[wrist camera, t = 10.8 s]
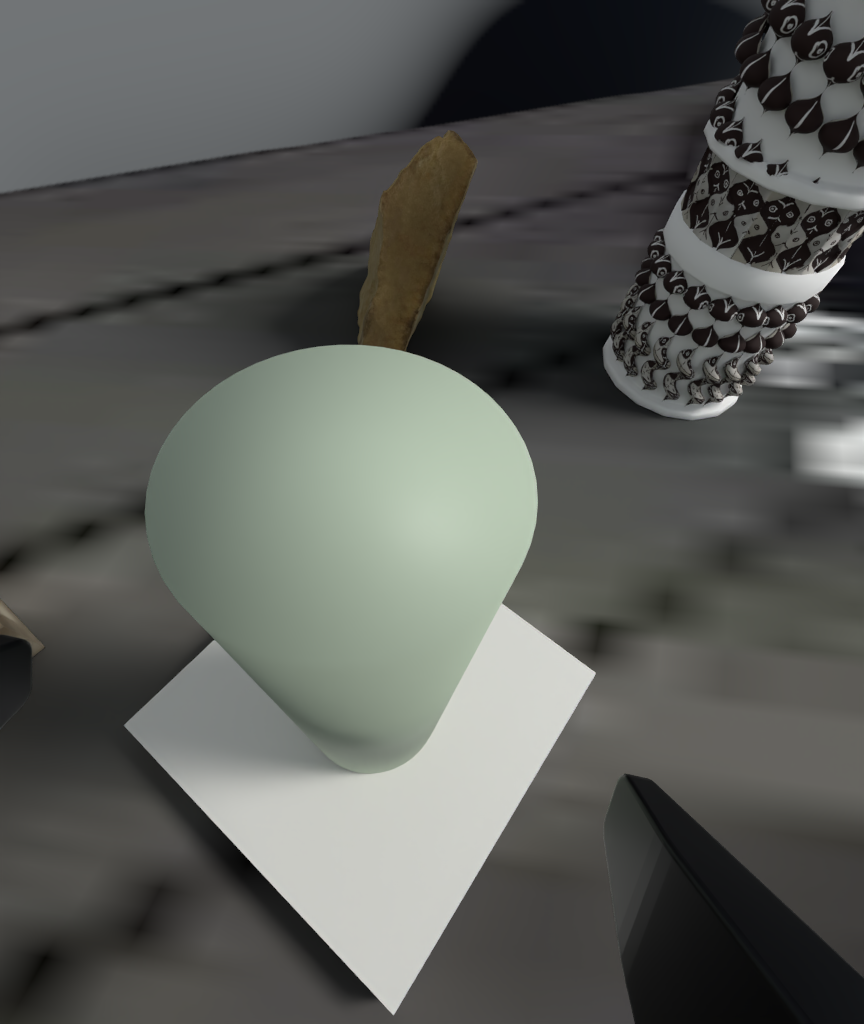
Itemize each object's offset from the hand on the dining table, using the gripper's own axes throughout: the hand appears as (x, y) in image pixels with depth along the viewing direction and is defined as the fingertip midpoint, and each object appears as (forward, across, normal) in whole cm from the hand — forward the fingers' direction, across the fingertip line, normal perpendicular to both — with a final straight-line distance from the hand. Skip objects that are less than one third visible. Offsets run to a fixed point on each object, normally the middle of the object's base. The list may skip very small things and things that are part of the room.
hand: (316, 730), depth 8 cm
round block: (+10, 0, +6) cm, 11 cm away
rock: (+26, +5, -8) cm, 28 cm away
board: (+11, 0, +7) cm, 13 cm away
